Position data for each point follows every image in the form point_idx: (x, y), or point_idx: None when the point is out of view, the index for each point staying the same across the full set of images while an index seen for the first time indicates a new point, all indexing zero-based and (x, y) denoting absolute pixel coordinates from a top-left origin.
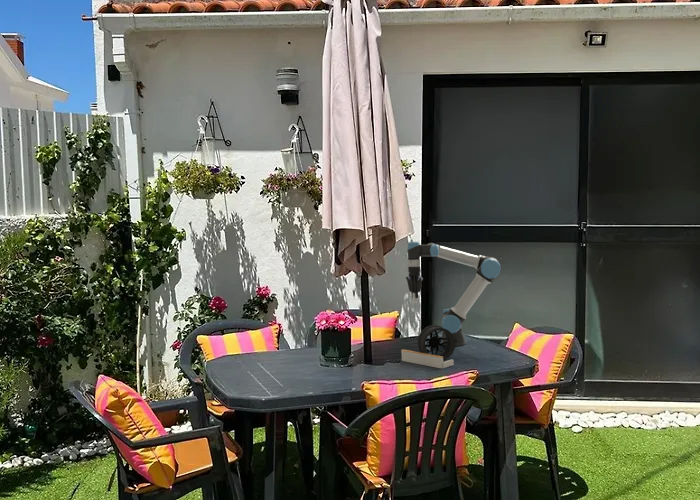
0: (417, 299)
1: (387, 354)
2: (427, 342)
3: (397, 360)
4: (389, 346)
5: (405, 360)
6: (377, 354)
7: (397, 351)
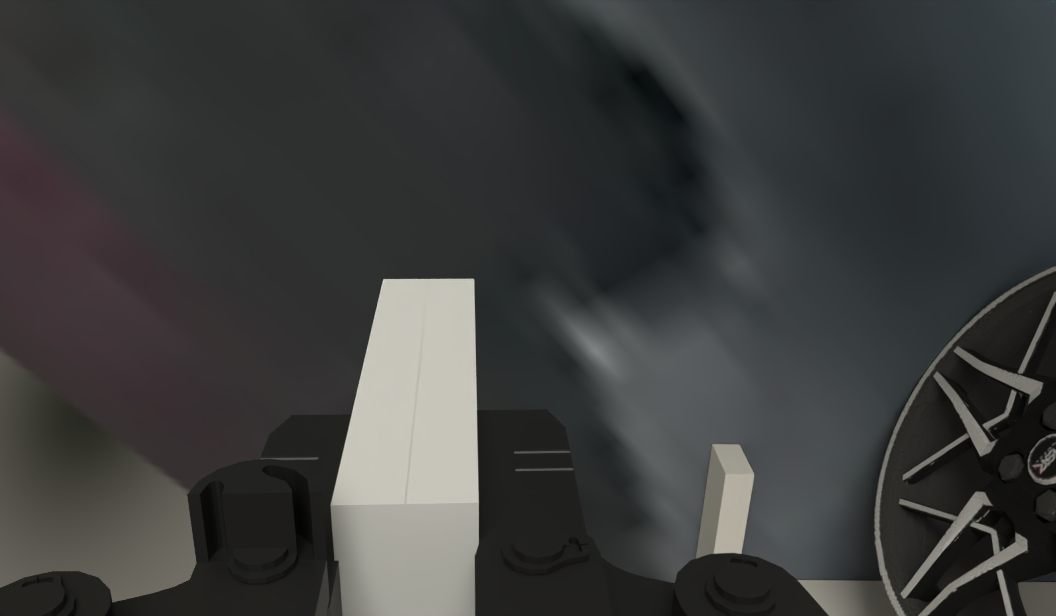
0: (473, 333)
1: None
2: (1004, 543)
3: None
4: (36, 185)
5: None
6: None
7: (353, 337)
